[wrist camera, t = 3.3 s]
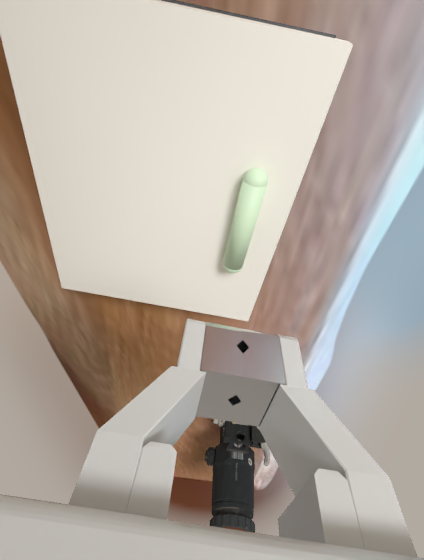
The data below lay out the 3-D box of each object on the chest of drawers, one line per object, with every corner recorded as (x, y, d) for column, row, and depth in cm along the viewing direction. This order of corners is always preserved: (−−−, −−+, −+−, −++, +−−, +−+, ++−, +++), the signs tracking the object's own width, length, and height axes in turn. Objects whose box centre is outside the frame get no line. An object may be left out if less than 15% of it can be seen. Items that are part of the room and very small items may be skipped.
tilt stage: (-2, -35, 16) (-40, -37, 14) (348, 41, 17) (361, 49, 14) (67, 279, 31) (54, 300, 29) (248, 311, 32) (247, 334, 30)
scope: (280, 521, 34) (259, 549, 40) (270, 405, 46) (255, 441, 51) (205, 510, 34) (195, 540, 40) (214, 397, 45) (205, 433, 51)
